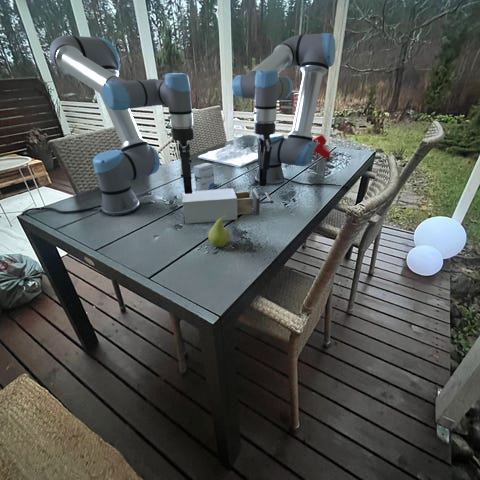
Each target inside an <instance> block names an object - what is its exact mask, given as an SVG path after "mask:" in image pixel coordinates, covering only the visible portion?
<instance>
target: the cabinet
mask: <svg viewBox="0 0 480 480" xmlns="http://www.w3.org/2000/svg"><path fill="white" fill-rule="evenodd" d="M235 192H236V191H235V189H234V187H233V188H232V187H231V188H219V189H218V188H217V189H208V190H201V191H199V190H192V194H185V191H182V208H183V216H184V223H185V224H186V225H188V224H200V223H211V222H217V220H219V219H220V218H222V217H224V216H225V215H226V214H227V213H228V212H229V214H228V215H227V216H225V217H224V218H223V221H233V220H234V221H235V220H238V215H237V197H236V194H235ZM223 221H222V222H223Z"/></svg>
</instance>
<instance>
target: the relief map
mask: <svg viewBox="0 0 480 480" xmlns="http://www.w3.org/2000/svg"><path fill="white" fill-rule="evenodd" d="M197 158H198V159H202V160H206V161H210V162H213V163H218V164H223V165H226V166H227V165H228V166H232V167H235V168H236V167H237V168H242V167H245V166H247V165H249V164H252V163H254V162H257V161H258V152H254V151H253V150H252V149H251V148H250V147H245V148H243V149H242V148H239V147H237V145H236V144H234V143H233V144H231V143H229V144H227V145H226V146H223V147H221V148H218V149H216V150H209V151H207V152H206V153H203V154H200V155H198V156H197Z"/></svg>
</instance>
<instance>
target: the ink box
mask: <svg viewBox="0 0 480 480" xmlns="http://www.w3.org/2000/svg"><path fill="white" fill-rule="evenodd" d="M214 172H215V171H214V164H212V163H209V162H205V163H201V164H197V165H194V166H193V173H194V183H195V184H194V185H195V190H196V191H201V190H212V189H214V188H215V174H214Z"/></svg>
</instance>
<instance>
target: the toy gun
mask: <svg viewBox="0 0 480 480" xmlns="http://www.w3.org/2000/svg"><path fill="white" fill-rule="evenodd" d="M312 141H313V142H315V150H314V154H313V156H316V155H318V154H319V155H320V156H321V157H323V160H324V161H325V160H326V159H327V157H328V159H329V158H330V156H331V151H330V150H328V149H327V148H326V147H324V146H325V145H326V143H327V139H326V137H325V136H324V135H323V133H321V134H319V135H318V136H316V137H314V138H313V140H312ZM324 158H326V159H324Z"/></svg>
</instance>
